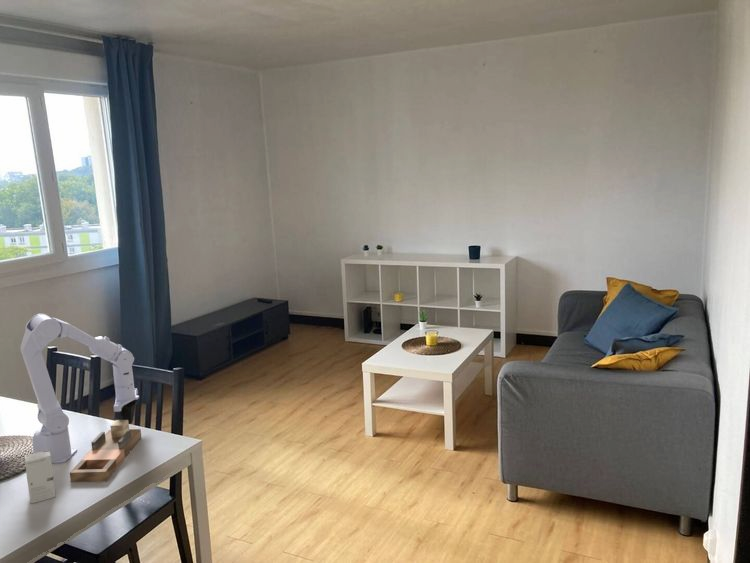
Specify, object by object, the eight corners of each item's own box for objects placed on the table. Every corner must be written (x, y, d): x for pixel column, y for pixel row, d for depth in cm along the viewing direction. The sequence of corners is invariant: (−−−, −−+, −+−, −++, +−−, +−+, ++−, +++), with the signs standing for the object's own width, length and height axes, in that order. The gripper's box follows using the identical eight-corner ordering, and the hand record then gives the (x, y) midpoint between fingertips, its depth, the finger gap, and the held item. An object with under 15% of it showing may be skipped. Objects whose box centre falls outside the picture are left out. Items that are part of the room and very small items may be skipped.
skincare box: (30, 504, 156) (24, 462, 154) (29, 496, 160) (22, 455, 158) (56, 496, 160) (50, 455, 157) (55, 489, 163) (49, 448, 161)
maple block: (111, 437, 187) (110, 425, 186) (116, 431, 191) (115, 420, 190) (124, 437, 187) (123, 425, 186) (129, 431, 191) (128, 419, 190)
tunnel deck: (70, 482, 167) (68, 464, 166) (110, 438, 193) (108, 422, 192) (106, 481, 167) (104, 463, 166) (141, 437, 193) (139, 421, 192)
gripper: (127, 392, 185) (132, 432, 188) (144, 375, 199) (148, 413, 202) (105, 393, 185) (110, 433, 188) (123, 376, 199) (128, 413, 202)
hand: (128, 423), depth 195 cm, fingers closed
